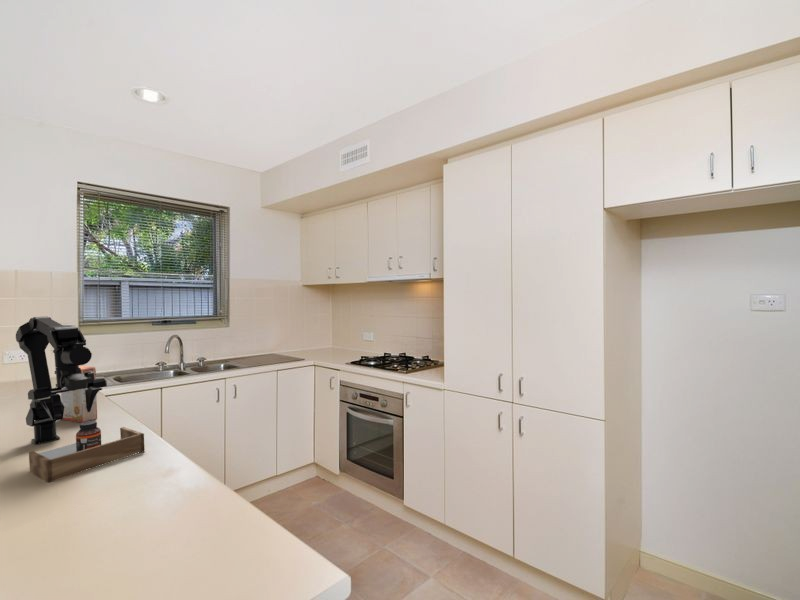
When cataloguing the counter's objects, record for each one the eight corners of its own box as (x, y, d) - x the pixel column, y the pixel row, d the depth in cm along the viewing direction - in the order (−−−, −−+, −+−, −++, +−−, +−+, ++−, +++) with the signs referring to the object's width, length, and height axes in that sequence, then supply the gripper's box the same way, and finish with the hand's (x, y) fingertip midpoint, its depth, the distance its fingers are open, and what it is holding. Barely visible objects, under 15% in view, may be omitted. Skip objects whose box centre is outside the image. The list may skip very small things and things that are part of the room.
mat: (34, 455, 127) (34, 454, 127) (87, 440, 139) (87, 439, 139) (52, 465, 120) (52, 463, 120) (107, 448, 131) (107, 447, 131)
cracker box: (98, 418, 164) (96, 366, 163) (81, 423, 158) (79, 369, 158) (78, 415, 170) (76, 364, 169) (61, 419, 164) (58, 367, 164)
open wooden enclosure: (29, 471, 115) (28, 452, 115) (124, 443, 135) (123, 427, 135) (47, 482, 108) (46, 461, 108) (144, 451, 128) (143, 433, 128)
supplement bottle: (88, 465, 119) (86, 426, 118) (71, 464, 120) (69, 425, 120) (107, 457, 124) (105, 419, 124) (90, 456, 126) (89, 419, 125)
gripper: (38, 371, 118) (43, 426, 117) (112, 360, 133) (116, 409, 133) (25, 371, 124) (29, 424, 123) (97, 361, 139) (101, 407, 139)
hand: (71, 415), depth 129 cm, fingers open, 9 cm apart
